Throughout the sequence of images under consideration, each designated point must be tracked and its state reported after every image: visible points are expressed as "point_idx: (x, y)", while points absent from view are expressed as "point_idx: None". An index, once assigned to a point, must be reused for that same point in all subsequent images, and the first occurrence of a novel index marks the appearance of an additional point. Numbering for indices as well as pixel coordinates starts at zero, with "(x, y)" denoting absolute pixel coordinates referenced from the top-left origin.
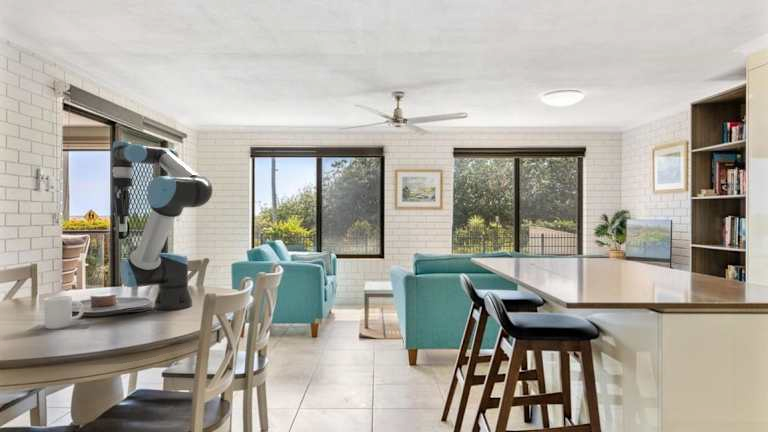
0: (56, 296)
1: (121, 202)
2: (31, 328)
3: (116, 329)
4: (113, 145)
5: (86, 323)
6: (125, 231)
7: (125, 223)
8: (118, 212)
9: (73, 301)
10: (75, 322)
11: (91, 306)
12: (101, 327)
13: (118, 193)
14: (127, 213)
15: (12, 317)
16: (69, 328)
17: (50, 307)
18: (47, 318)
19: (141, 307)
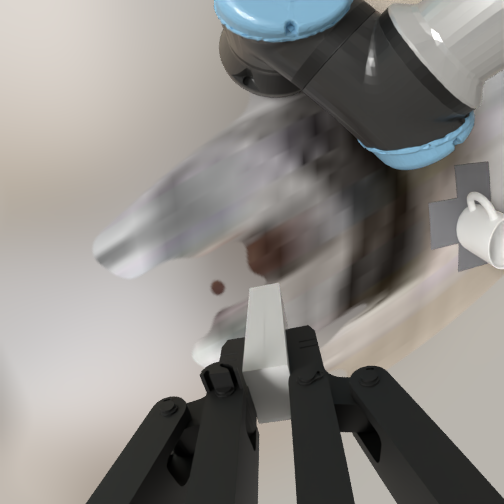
0: (491, 260)
1: (489, 492)
2: (478, 265)
3: (489, 100)
4: None
5: (457, 182)
6: (278, 285)
7: (283, 320)
8: (375, 430)
9: (496, 213)
10: (448, 211)
11: (283, 278)
12: (481, 135)
13: None
14: (187, 410)
15: (388, 361)
16: (486, 194)
17: None
18: (498, 238)
19: (291, 132)
